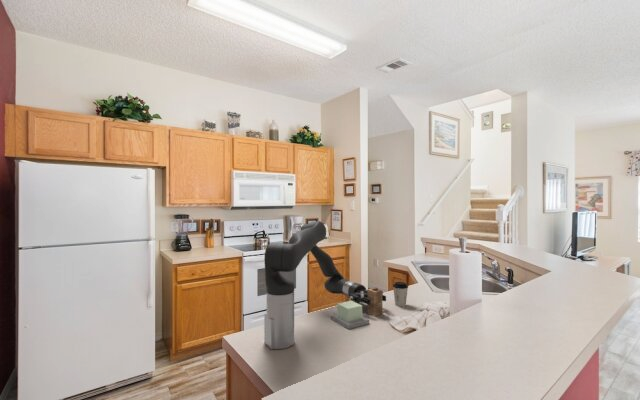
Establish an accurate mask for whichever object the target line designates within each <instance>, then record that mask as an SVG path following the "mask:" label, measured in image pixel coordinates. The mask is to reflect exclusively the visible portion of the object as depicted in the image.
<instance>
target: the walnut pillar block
mask: <svg viewBox="0 0 640 400" xmlns="http://www.w3.org/2000/svg"><path fill="white" fill-rule="evenodd" d="M367 290H368V299H370V300H371V304H370V305H368V304H367V314H369V315H371V316H373V317H376V316H381V315H383V301H382V292H383V289H379V288H378V287H376V286H374V287H371V288H368V289H367Z"/></svg>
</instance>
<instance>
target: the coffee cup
mask: <svg viewBox="0 0 640 400" xmlns="http://www.w3.org/2000/svg"><path fill="white" fill-rule="evenodd" d="M408 288H409V285H408V284H407V283H406V282H403V281H394V283H393V284H392V289H393V297H394V304H395V306H396V307H399V308H400V307H401V308H402V307H406V305H407V297H408V290H409V289H408Z"/></svg>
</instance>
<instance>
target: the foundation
mask: <svg viewBox="0 0 640 400" xmlns="http://www.w3.org/2000/svg"><path fill="white" fill-rule="evenodd" d="M336 306H337V308H336V309H337V310H336V311H337V312H336V313H333V314H330V319H331V320H332V321H334V322H335V323H338V324H339V325H341V326H343V327H344V328H346V329H347V330H351V329H355V328H358V327H362V326H366V325H369V324H370V319H369V318H367V317H365V316H363V305H361V304H360V303H356V302H354V301H352V300H348V301H344V302H339V303H336Z"/></svg>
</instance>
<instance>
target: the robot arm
mask: <svg viewBox="0 0 640 400" xmlns="http://www.w3.org/2000/svg"><path fill="white" fill-rule="evenodd" d="M326 236H327V228H326V225H325V224H324V222H322V221H320V220H317V221H312V222H308V223H305V224H303V225H302V226H301V227H300V230H299V231H296V232H295V233H293V234H292V235H291V236H290V238H289V239H288V243H274V242H272V243H271V242H270V243H269V244H268V245H267V246H266V248H265V251H264V257H263V259H264V276H265V281H264V282H265V286H266V287H265V288H266V313H264V315H263V316H264V317H263V319H264V321H263V322H264V324H263V325H264V327H263V328H264V329H263V330H264V333H263V334H264V336H263V337H264V338H263V339H264V340H263V341H264V344H265V345H267V347H268V348H269V349H270V350H282V349H283V350H284V349H288V348H290V347H292V346H293V345H294V344H295V283H294V282H293V281H292V280H290V279H288V278H286V277H284V276H283V275H282V274H281V273H280V272H283V273H284V272H286V273H287V272H288V273H290V272H294V271H295V270H296V269H297V268H298V266H299V265H300V263H301V261H302V260H303V259H304V258H305V257H306V255H307V254H308V253H309V252H310V253H311V254H312V256H313V257H314V258H315V260H316V262H317V263H318V266H319V268H320V270H321V273H322V275H323V276H324V277H326V278H327V279H326V280H325V282H324V288H325V290H326V291H327V292H329V293H331V294H336V295H337V294H339V295H341V294H342V295H344V296H346V297H347V298H349V301H353V302H355V303H358V304H360V303H361V304H366V305H367V306H368V305H370V304H371V300H370V299H368V289H367V288H366V286H365V285H364V284H361V283H358V282H356V281H355V282H354V281H351V280H348V279H346V278H344V276H343V275H342V274H341V273H340V272H339V270H338V269H337V267H336V266H335V263H334V261H333V258H332V257H331V256H330V254H328V253H327V252H326V251H324V250H323V249H321V248H320V247H319V246H318V245H317V244H318V243H320V242H322V241H323V240H324V239H326ZM382 302H387V296H386V295H384V293H383V291H382Z"/></svg>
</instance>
